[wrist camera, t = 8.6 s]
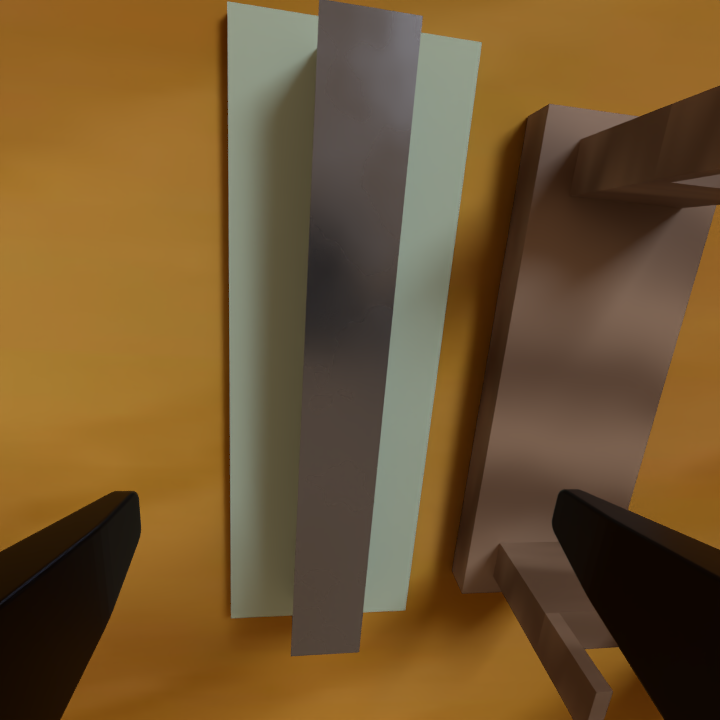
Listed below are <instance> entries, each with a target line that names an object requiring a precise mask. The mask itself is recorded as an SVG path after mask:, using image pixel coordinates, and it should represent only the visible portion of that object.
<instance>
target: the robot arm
mask: <svg viewBox="0 0 720 720" xmlns="http://www.w3.org/2000/svg"><path fill="white" fill-rule="evenodd" d="M552 528H553V532H554V534H555V536H556V538H557V540H558V542H559V543H560V545H561V547H562V549H563V551H564V553H565V555H566V557H567V559H568V561H569V563H570V565H571V567H572V569H573V571H574V573H575V575H576V577H577V578H578V580H579V582H580V584H581V586H582V588H583V590H584V592H585V594H586V595H587V597H588V599H589V600H590V602H591V604H592V605H593V607H594V609H595V610H596V612H597V614H598V615H599V617H600V618H601V620H602V621H603V623H604V625H605V626H606V628H607V629H608V631H609V633H610V634H611V636H612V637H613V639H614V641H615V642H616V644H617V645H618V647H619V649H620V650H621V652H622V653H623V655H624V656H625V658H626V660H627V661H628V663H629V664H630V666H631V668H632V669H633V671H634V672H635V674H636V676H637V677H638V679H639V680H640V682H641V683H642V685H643V687H644V688H645V690H646V691H647V693H648V695H649V696H650V698H651V699H652V701H653V703H654V704H655V706H656V707H657V709H658V711H659V712H660V714H661V715H662V717H663V718H664V720H720V550H719V549H716V548H714V547H712V546H709V545H707V544H705V543H703V542H700V541H698V540H696V539H693V538H691V537H689V536H686V535H684V534H682V533H679V532H677V531H675V530H673V529H670V528H668V527H666V526H663V525H661V524H659V523H656V522H654V521H652V520H649V519H647V518H645V517H643V516H640V515H638V514H636V513H633V512H631V511H629V510H626V509H624V508H622V507H619V506H617V505H615V504H613V503H610V502H608V501H606V500H603V499H601V498H599V497H596V496H594V495H592V494H589V493H587V492H585V491H582V490H580V489H563V490H561V491H560V492H559V493H558V496H557V500H556V504H555V508H554V512H553V516H552ZM140 533H141V520H140V507H139V497H138V494H137V493H136V492H135V491H114V492H111V493H109V494H108V495H106V496H104V497H102V498H100V499H98V500H96V501H95V502H93V503H91V504H89V505H87V506H85V507H83V508H81V509H80V510H78V511H76V512H74V513H72V514H70V515H68V516H66V517H65V518H63V519H61V520H59V521H57V522H55V523H53V524H52V525H50V526H48V527H46V528H44V529H42V530H40V531H38V532H37V533H35V534H33V535H31V536H29V537H27V538H25V539H23V540H22V541H20V542H18V543H16V544H14V545H12V546H10V547H8V548H7V549H5V550H3V551H1V552H0V720H60V719H61V717H62V715H63V713H64V711H65V709H66V707H67V705H68V703H69V701H70V699H71V697H72V695H73V693H74V691H75V689H76V687H77V685H78V683H79V681H80V679H81V677H82V675H83V673H84V670H85V668H86V666H87V664H88V662H89V660H90V658H91V656H92V654H93V652H94V650H95V648H96V646H97V644H98V642H99V640H100V638H101V636H102V634H103V632H104V630H105V627H106V625H107V623H108V621H109V619H110V616H111V614H112V611H113V609H114V606H115V604H116V601H117V598H118V596H119V593H120V590H121V587H122V585H123V582H124V579H125V577H126V574H127V571H128V568H129V566H130V563H131V560H132V558H133V555H134V552H135V550H136V547H137V544H138V541H139V538H140Z"/></svg>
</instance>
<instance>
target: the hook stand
mask: <svg viewBox="0 0 720 720" xmlns="http://www.w3.org/2000/svg"><path fill="white" fill-rule="evenodd" d="M716 205H720V86H718V87H715V88H712V89H710V90H707V91H705V92H702V93H699V94H697V95H694V96H692V97H689V98H686V99H684V100H681V101H679V102H676V103H673V104H671V105H668V106H666V107H663V108H660V109H658V110H655V111H653V112H650V113H648V114H645V115H642V116H640V117H638V116H631V115H624V114H617V113H610V112H603V111H596V110H589V109H582V108H574V107H567V106H560V105H553V104H548V105H547V106H545V107H543V108H542V109H540V110H538V111H536V112H535V113H533V114H531V115H530V116H528V120H527V126H526V132H525V138H524V144H523V150H522V156H521V162H520V167H519V173H518V179H517V185H516V191H515V197H514V203H513V209H512V215H511V221H510V227H509V233H508V239H507V245H506V251H505V257H504V263H503V269H502V275H501V281H500V287H499V293H498V299H497V305H496V311H495V317H494V323H493V329H492V335H491V341H490V347H489V353H488V359H487V365H486V371H485V377H484V382H483V388H482V394H481V400H480V406H479V412H478V418H477V424H476V430H475V436H474V442H473V448H472V454H471V460H470V466H469V472H468V478H467V484H466V490H465V496H464V502H463V508H462V514H461V520H460V526H459V532H458V538H457V544H456V550H455V556H454V562H453V568H452V572H453V574H454V577H455V579H456V581H457V583H458V586H459V588H460V590H461V592H462V594H464V593H489V592H502V593H503V595H504V597H505V598H506V600H507V602H508V604H509V605H510V607H511V609H512V611H513V613H514V614H515V616H516V618H517V620H518V622H519V623H520V625H521V627H522V629H523V630H524V632H525V634H526V636H527V638H528V639H529V641H530V643H531V645H532V646H533V648H534V650H535V652H536V654H537V655H538V657H539V659H540V661H541V663H542V664H543V666H544V668H545V670H546V671H547V673H548V675H549V677H550V679H551V680H552V682H553V684H554V686H555V687H556V689H557V691H558V693H559V695H560V696H561V698H562V700H563V702H564V704H565V705H566V707H567V709H568V711H569V712H570V714H571V716H572V718H573V720H604V718H605V715H606V712H607V709H608V705H609V702H610V699H611V696H612V693H613V691H612V689H611V688H610V686H609V685H608V683H607V682H606V680H605V679H604V677H603V676H602V674H601V673H600V672H599V670H598V669H597V667H596V666H595V664H594V663H593V661H592V660H591V658H590V657H589V655H588V654H587V653H586V651H585V650H584V649H594V648H610V647H618V645H617V644H616V642H615V641H614V639H613V637H612V636H611V634H610V633H609V631H608V629H607V628H606V626H605V625H604V623H603V621H602V620H601V618H600V617H599V615H598V614H597V612H596V610H595V609H594V607H593V605H592V604H591V602H590V600H589V599H588V597H587V595H586V594H585V592H584V590H583V588H582V586H581V584H580V582H579V580H578V578H577V577H576V575H575V573H574V571H573V569H572V567H571V565H570V563H569V561H568V559H567V557H566V555H565V553H564V551H563V549H562V547H561V545H560V543H559V542H558V540H557V538H556V536H555V534H554V532H553V528H552V516H553V512H554V508H555V504H556V500H557V496H558V493H559V492H560V491H561V490H563V489H580V490H582V491H585V492H587V493H589V494H592V495H594V496H596V497H599V498H601V499H603V500H606V501H608V502H610V503H613V504H615V505H617V506H619V507H622V508H624V509H626V510H628V507H629V503H630V500H631V496H632V493H633V490H634V486H635V483H636V479H637V476H638V472H639V469H640V465H641V462H642V459H643V455H644V452H645V448H646V445H647V441H648V438H649V435H650V431H651V428H652V424H653V421H654V417H655V414H656V411H657V407H658V404H659V400H660V397H661V393H662V390H663V386H664V383H665V380H666V376H667V373H668V369H669V366H670V362H671V359H672V356H673V352H674V349H675V345H676V342H677V338H678V335H679V332H680V328H681V325H682V321H683V318H684V314H685V311H686V307H687V304H688V301H689V297H690V294H691V290H692V287H693V283H694V280H695V277H696V273H697V270H698V266H699V263H700V259H701V256H702V253H703V249H704V246H705V242H706V239H707V235H708V232H709V228H710V225H711V222H712V218H713V215H714V211H715V208H716Z"/></svg>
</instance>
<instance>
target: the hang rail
mask: <svg viewBox="0 0 720 720" xmlns="http://www.w3.org/2000/svg"><path fill="white" fill-rule="evenodd" d="M422 17H423V16H419V15H413V14H407V13H401V12H395V11H389V10H383V9H377V8H371V7H365V6H359V5H353V4H347V3H341V2H335V1H329V0H319V17H318V37H317V59H316V82H315V105H314V128H313V152H312V175H311V198H310V221H309V244H308V267H307V291H306V314H305V337H304V360H303V383H302V407H301V430H300V453H299V476H298V499H297V523H296V546H295V569H294V592H293V617H292V642H291V656H303V655H320V654H337V653H353V652H359V647H360V637H361V627H362V617H363V607H364V597H365V587H366V577H367V567H368V557H369V547H370V537H371V527H372V517H373V507H374V497H375V487H376V477H377V467H378V457H379V447H380V437H381V427H382V417H383V407H384V397H385V387H386V377H387V367H388V357H389V347H390V337H391V327H392V317H393V307H394V297H395V287H396V277H397V267H398V257H399V247H400V237H401V227H402V217H403V207H404V197H405V187H406V177H407V167H408V157H409V147H410V137H411V127H412V117H413V107H414V97H415V87H416V77H417V67H418V57H419V47H420V37H421V27H422Z"/></svg>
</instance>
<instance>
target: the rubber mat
mask: <svg viewBox="0 0 720 720" xmlns="http://www.w3.org/2000/svg"><path fill="white" fill-rule="evenodd" d="M227 16H228V188H229V360H230V532H231V618H247V617H270V616H292V615H293V592H294V569H295V546H296V523H297V499H298V476H299V453H300V430H301V407H302V383H303V360H304V337H305V314H306V291H307V267H308V244H309V221H310V198H311V175H312V152H313V128H314V105H315V82H316V59H317V37H318V17H319V16H315V15H308V14H302V13H296V12H290V11H283V10H277V9H271V8H265V7H259V6H252V5H246V4H240V3H234V2H228V1H227ZM481 45H482V42H476V41H470V40H464V39H457V38H451V37H445V36H439V35H432V34H426V33H421V37H420V47H419V57H418V67H417V77H416V87H415V97H414V107H413V117H412V127H411V137H410V147H409V157H408V167H407V177H406V187H405V197H404V207H403V217H402V227H401V237H400V247H399V257H398V267H397V277H396V287H395V297H394V307H393V317H392V327H391V337H390V347H389V357H388V367H387V377H386V387H385V397H384V407H383V417H382V427H381V437H380V447H379V457H378V467H377V477H376V487H375V497H374V507H373V517H372V527H371V537H370V547H369V557H368V567H367V577H366V587H365V597H364V607H363V612H380V611H402V610H405V608H406V600H407V593H408V586H409V578H410V571H411V563H412V556H413V549H414V541H415V534H416V526H417V519H418V512H419V504H420V497H421V489H422V482H423V474H424V467H425V460H426V452H427V445H428V437H429V430H430V423H431V415H432V408H433V400H434V393H435V386H436V378H437V371H438V363H439V356H440V349H441V341H442V334H443V326H444V319H445V312H446V304H447V297H448V289H449V282H450V274H451V267H452V260H453V252H454V245H455V237H456V230H457V223H458V215H459V208H460V200H461V193H462V186H463V178H464V171H465V163H466V156H467V149H468V141H469V134H470V126H471V119H472V111H473V104H474V97H475V89H476V82H477V74H478V67H479V60H480V52H481Z"/></svg>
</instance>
